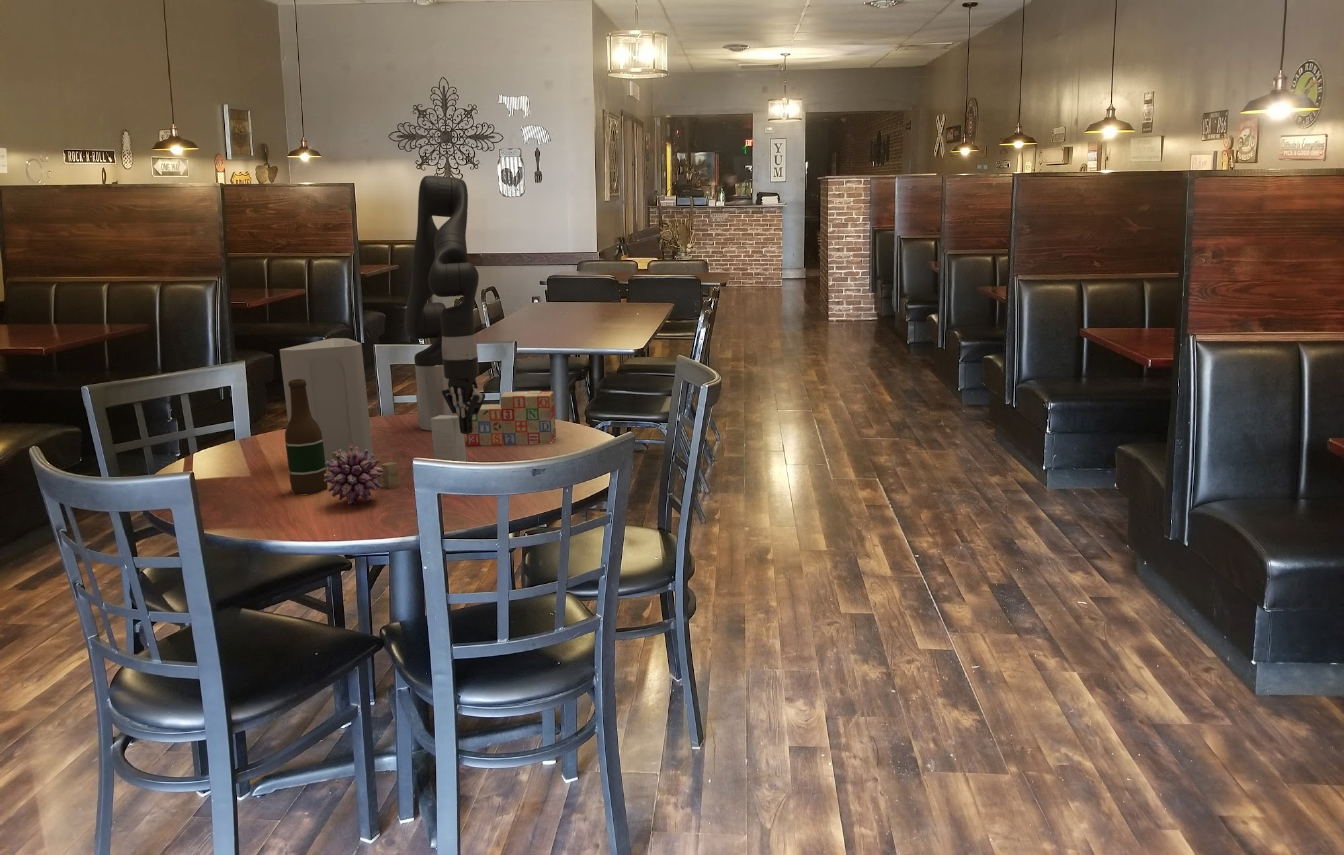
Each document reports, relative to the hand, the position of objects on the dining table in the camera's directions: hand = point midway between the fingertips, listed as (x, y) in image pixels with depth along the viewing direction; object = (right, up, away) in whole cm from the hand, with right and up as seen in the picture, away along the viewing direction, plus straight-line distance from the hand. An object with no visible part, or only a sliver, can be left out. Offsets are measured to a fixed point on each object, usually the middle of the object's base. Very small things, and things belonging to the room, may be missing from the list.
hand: (466, 433), depth 243 cm
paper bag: (-32, -7, +18) cm, 37 cm away
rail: (-22, -10, -1) cm, 24 cm away
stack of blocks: (+6, -3, +31) cm, 31 cm away
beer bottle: (-32, -12, -7) cm, 35 cm away
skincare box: (-5, -8, +6) cm, 12 cm away
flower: (-19, -14, -19) cm, 30 cm away
